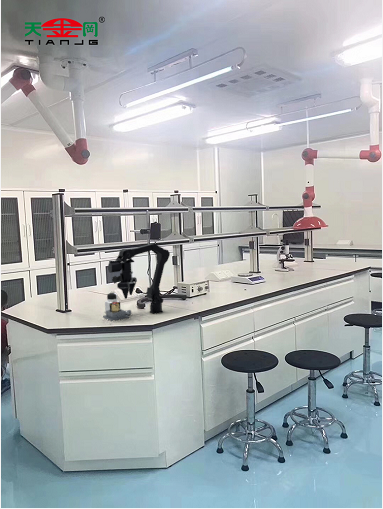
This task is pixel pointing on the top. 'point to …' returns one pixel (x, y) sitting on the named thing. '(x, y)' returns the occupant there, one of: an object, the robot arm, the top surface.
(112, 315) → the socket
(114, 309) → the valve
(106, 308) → the medicine bottle
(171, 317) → the top surface
